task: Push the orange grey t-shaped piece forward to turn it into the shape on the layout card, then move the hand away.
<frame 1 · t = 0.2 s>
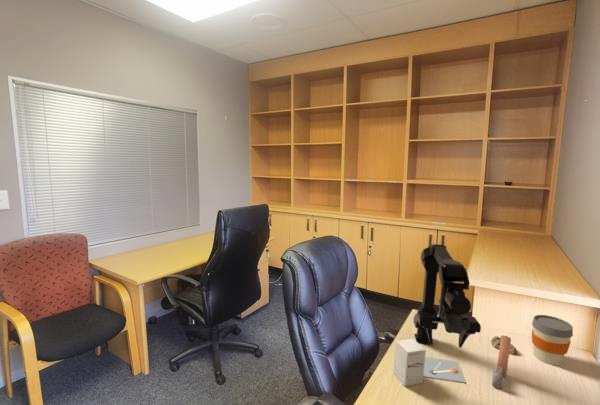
hand: (445, 345, 109), 15 cm above the table, tool pointing down, fingers open, 9 cm apart
supplement box: (407, 378, 114), on the table
mineral rock: (503, 348, 134), on the table
reusable coffee cup: (547, 358, 128), on the table
orange grey t-shaped piece: (501, 361, 113), point 7 cm above the table, hinge at 0.0°
layout card: (440, 369, 119), on the table
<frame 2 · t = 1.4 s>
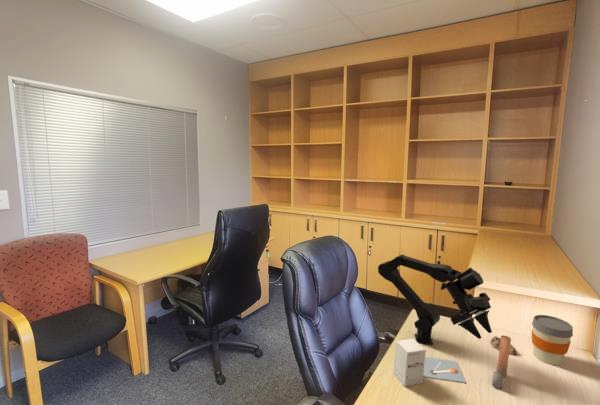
hand: (485, 335, 119), 13 cm above the table, tool tilted 45°, fingers open, 7 cm apart
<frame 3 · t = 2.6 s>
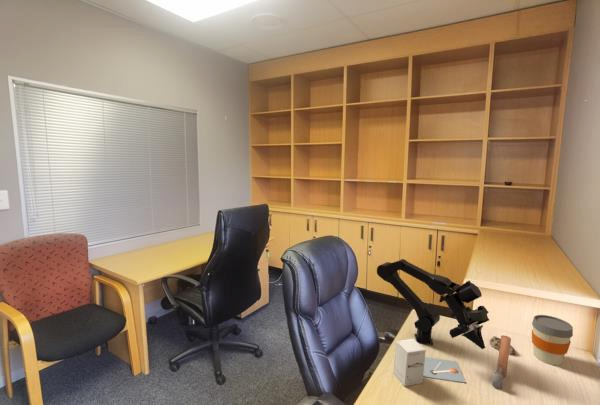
hand: (483, 348, 120), 8 cm above the table, tool tilted 45°, fingers closed
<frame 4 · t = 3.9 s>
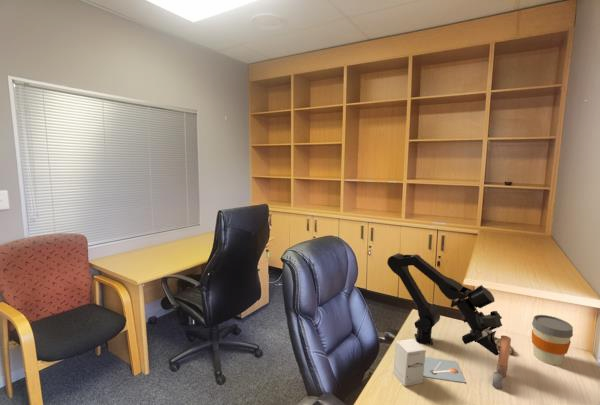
hand: (497, 355, 117), 7 cm above the table, tool tilted 45°, fingers closed
orange grey t-shaped piece: (501, 361, 113), point 7 cm above the table, hinge at -0.1°, touching gripper
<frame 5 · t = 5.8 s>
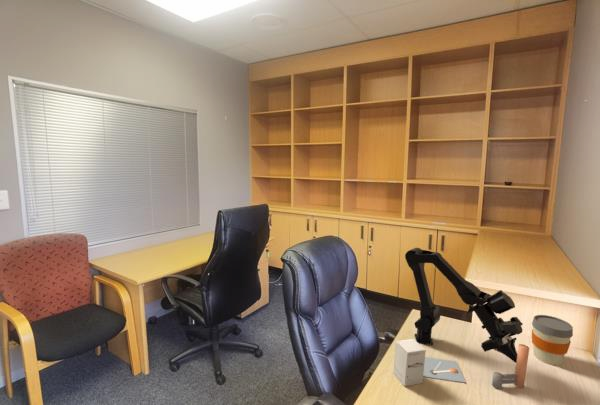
hand: (518, 362, 113), 7 cm above the table, tool tilted 45°, fingers closed
orange grey t-shaped piece: (510, 366, 110), point 7 cm above the table, hinge at -44.0°
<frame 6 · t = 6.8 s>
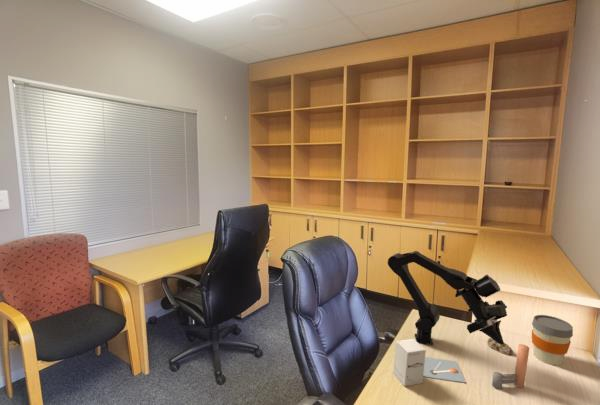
hand: (502, 344, 117), 11 cm above the table, tool tilted 45°, fingers closed
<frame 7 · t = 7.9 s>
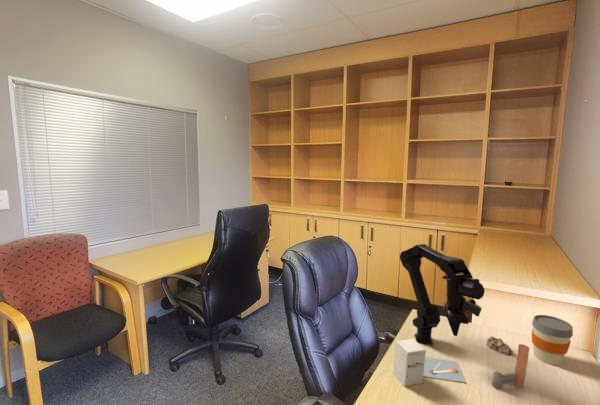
hand: (455, 335, 121), 12 cm above the table, tool pointing down, fingers closed
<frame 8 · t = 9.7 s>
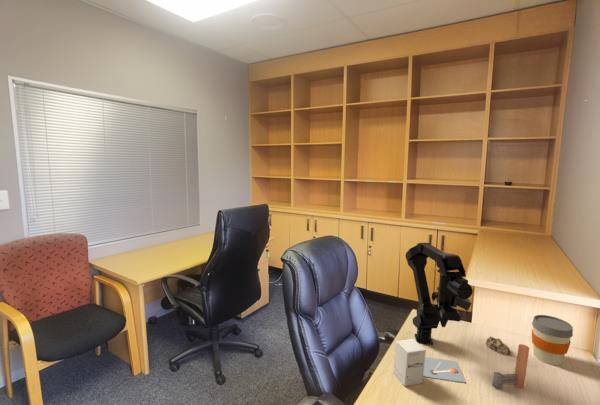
hand: (443, 326, 124), 13 cm above the table, tool pointing down, fingers closed
at the end: orange grey t-shaped piece at -44° (first picture: +0°); the gripper is holding nothing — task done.
